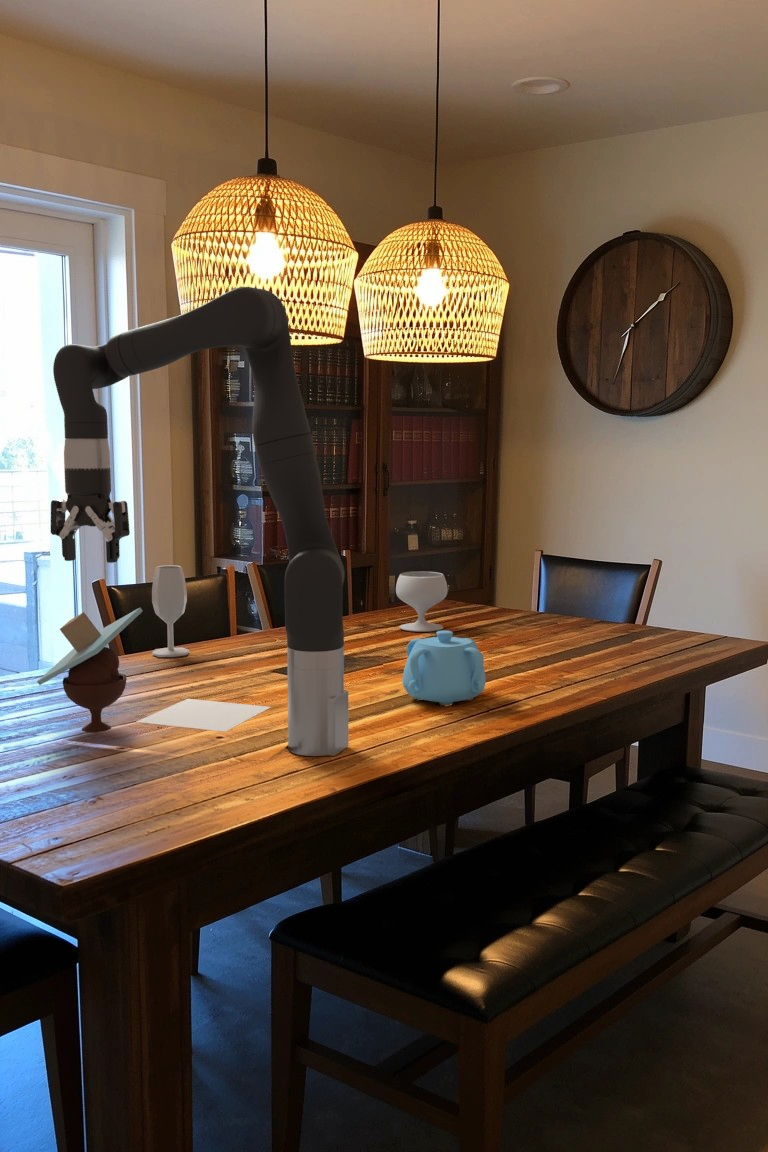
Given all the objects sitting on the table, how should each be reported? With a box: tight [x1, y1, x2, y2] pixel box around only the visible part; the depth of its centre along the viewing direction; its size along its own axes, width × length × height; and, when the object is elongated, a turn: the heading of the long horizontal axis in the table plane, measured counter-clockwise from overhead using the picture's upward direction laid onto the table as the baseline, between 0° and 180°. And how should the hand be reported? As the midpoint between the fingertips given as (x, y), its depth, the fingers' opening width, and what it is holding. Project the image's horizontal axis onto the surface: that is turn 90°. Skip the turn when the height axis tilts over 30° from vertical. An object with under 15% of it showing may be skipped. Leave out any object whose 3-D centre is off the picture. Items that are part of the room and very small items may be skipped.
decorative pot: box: [402, 630, 486, 706], centre depth 205 cm, size 16×16×14 cm
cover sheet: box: [36, 607, 143, 686], centre depth 179 cm, size 15×15×6 cm
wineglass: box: [151, 564, 190, 658], centre depth 246 cm, size 9×9×21 cm
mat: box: [135, 698, 272, 733], centre depth 192 cm, size 18×18×1 cm
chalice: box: [395, 570, 449, 633], centre depth 282 cm, size 14×14×15 cm
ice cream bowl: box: [62, 646, 128, 734], centre depth 181 cm, size 11×11×15 cm
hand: (90, 561), depth 178 cm, fingers open, 8 cm apart
